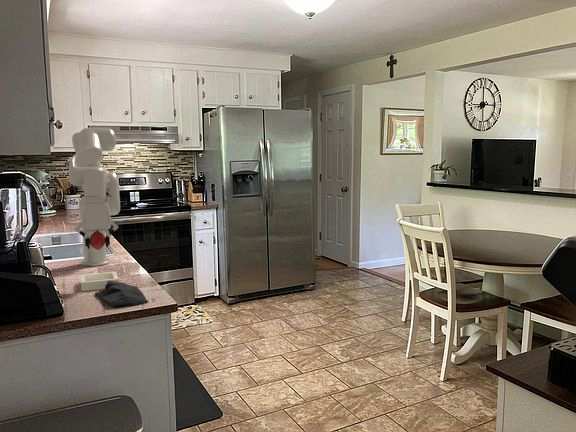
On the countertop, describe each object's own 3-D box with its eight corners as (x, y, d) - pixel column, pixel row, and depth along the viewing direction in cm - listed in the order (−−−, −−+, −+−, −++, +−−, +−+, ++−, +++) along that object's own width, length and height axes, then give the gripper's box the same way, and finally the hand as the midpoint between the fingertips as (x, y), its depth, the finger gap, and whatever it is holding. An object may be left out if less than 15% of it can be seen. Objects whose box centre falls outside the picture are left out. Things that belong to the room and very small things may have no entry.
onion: (86, 251, 175) (85, 230, 174) (95, 248, 180) (94, 228, 179) (101, 251, 174) (99, 230, 173) (109, 248, 179) (108, 228, 178)
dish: (81, 282, 182) (80, 274, 182) (116, 279, 187) (115, 271, 187) (81, 291, 170) (81, 282, 170) (119, 287, 176) (118, 279, 175)
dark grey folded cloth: (103, 311, 149) (102, 297, 149) (94, 294, 168) (93, 281, 168) (151, 304, 157) (151, 290, 156) (137, 288, 176) (137, 276, 175)
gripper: (118, 198, 182) (120, 244, 184) (70, 200, 174) (73, 247, 177) (120, 200, 175) (122, 247, 177) (70, 202, 168) (73, 251, 170)
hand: (97, 247), depth 177 cm, fingers closed on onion, 5 cm apart
